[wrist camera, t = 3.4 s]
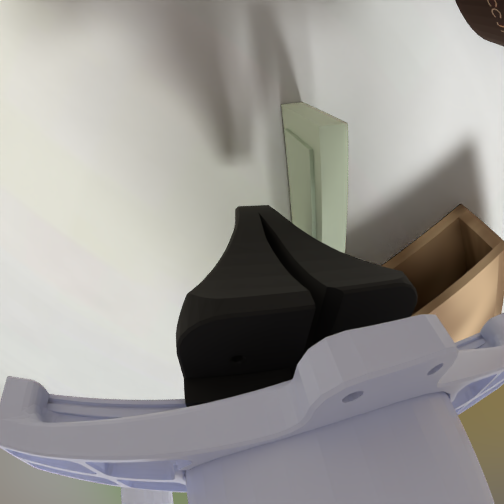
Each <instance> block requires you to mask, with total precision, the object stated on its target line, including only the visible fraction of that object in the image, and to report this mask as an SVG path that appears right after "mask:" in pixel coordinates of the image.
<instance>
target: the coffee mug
mask: <svg viewBox="0 0 504 504" xmlns="http://www.w3.org/2000/svg"><path fill="white" fill-rule="evenodd" d="M456 3H457V5H458V7H459V9H460V11H461V13H462V15H463V17H464V18H465V20H466V21H467V23H468V24H469V25H470V27H471V28H472V29H473V30H474V31H475V32H476V33H477V34H478V35H479V36H480V37H482V38H483V39H485V40H487V41H490V42H493V43H496V44H499V45H502V46H504V0H456Z"/></svg>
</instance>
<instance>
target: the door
mask: <svg viewBox="0 0 504 504" xmlns="http://www.w3.org/2000/svg"><path fill="white" fill-rule="evenodd" d="M281 108H282V116H283V126H284V135H285V145H286V155H287V166H288V177H289V189H290V202H291V215H292V223H293V224H294V225H295V226H297V227H298V228H300V229H301V230H303V231H304V232H306V233H307V234H309V235H310V236H312V237H313V238H315V239H317V240H318V241H320V242H322V243H324V244H326V245H328V246H330V247H332V248H334V249H336V250H338V251H340V252H343V253H345V243H346V226H347V203H348V123H346V122H344V121H342V120H340V119H338V118H336V117H334V116H332V115H329V114H327V113H325V112H323V111H321V110H319V109H317V108H314V107H312V106H310V105H308V104H305V103H303V102H299V103H290V104H281Z"/></svg>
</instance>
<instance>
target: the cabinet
mask: <svg viewBox="0 0 504 504" xmlns="http://www.w3.org/2000/svg"><path fill="white" fill-rule="evenodd" d="M382 266H383V267H387V268H391V269H395V270H399V271H403V273H404V274H405V275H406V276H407V278H408V279H409V280H410V282H411V283H412V285H413V286H414V287H415V289H416V291H417V294H418V297H417V304H416V306H415V309H414V311H413V313H412V315H411V317H412V316H416V315H420V314H432V315H436V316H437V317H438V319H439V320H440V322H441V323H442V325H443V326H444V328H445V329H446V331H447V332H448V334H449V335H450V337H451V338H452V340H453V341H454V343H455V342H458V341H460V340H463V339H465V338H468V337H470V336H473V335H475V334H477V333H480V331H481V329H482V328H483V326H484V325H485V323H486V322H487V321H488V320H489V319H491V318H492V317H494V316H497V315H499V314H501V311H502V305H503V298H504V241H503V240H502V239H501V238H500V237H499V236H498V235H497V234H496V233H495V232H494V231H492V230H491V229H490V228H489V227H488V226H487V225H486V224H485V223H483V222H482V221H481V220H480V219H479V218H478V217H476V216H475V215H474V214H473V213H472V212H470V211H469V210H468V209H467V208H466V207H464V206H463V205H462V204H460V205H459V206H457V207H456V208H455V209H454V210H453V211H452V212H450V213H449V214H448V215H447V216H446V217H444V218H443V219H442V220H441V221H439V222H438V223H437V224H436V225H434V226H433V227H432V228H431V229H429V230H428V231H427V232H426V233H424V234H423V235H422V236H421V237H419V238H418V239H417V240H415V241H414V242H413V243H412V244H410V245H409V246H408V247H406V248H405V249H404V250H402V251H401V252H400V253H398V254H397V255H396V256H394V257H393V258H392V259H390V260H389V261H387V262H386V263H385V264H383V265H382Z"/></svg>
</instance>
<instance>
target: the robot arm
mask: <svg viewBox="0 0 504 504" xmlns="http://www.w3.org/2000/svg"><path fill="white" fill-rule="evenodd" d="M417 297H418V294H417V291H416V289H415V287H414V286H413V285H412V283H411V282H410V280H409V279H408V278H407V276H406V275H405V274H404V273H403V271H399V270H395V269H391V268H387V267H383V266H379V265H375V264H372V263H369V262H366V261H363V260H360V259H357V258H355V257H352V256H350V255H347V254H345V253H343V252H340V251H338V250H336V249H334V248H332V247H330V246H328V245H326V244H324V243H322V242H320V241H318V240H317V239H315V238H313V237H312V236H310V235H309V234H307V233H306V232H304V231H303V230H301V229H300V228H298V227H297V226H295V225H294V224H293V223H291V222H290V221H289V220H287V219H286V218H285V217H283V216H282V215H281V214H279V213H278V212H277V211H276V210H274V209H273V208H272V207H270V206H269V205H263V206H240V207H237V208H236V209H235V227H234V231H233V234H232V236H231V239H230V242H229V244H228V246H227V248H226V250H225V252H224V254H223V255H222V257H221V258H220V260H219V261H218V263H217V264H216V266H215V267H214V268H213V270H212V271H211V272H210V273H209V274H208V275H207V276H206V278H205V279H204V280H203V281H202V282H201V283H200V284H199V285H197V286H196V287H195V288H194V289H193V290H192V291H190V292H189V293H188V294H187V295H186V298H185V300H184V303H183V306H182V309H181V312H180V316H179V320H178V324H177V331H176V347H177V356H178V359H179V363H180V366H181V370H182V373H183V377H184V391H185V399H172V400H120V399H98V398H84V397H72V396H62V395H54V394H49V393H48V392H47V390H46V389H45V388H44V387H43V386H42V385H41V384H40V383H38V382H36V381H34V380H31V379H25V378H18V377H12V376H8V377H7V380H6V383H5V387H4V390H3V394H2V398H1V402H0V448H2V449H3V450H5V451H6V452H8V453H10V454H11V455H13V456H14V457H16V458H18V459H20V460H21V461H23V462H25V463H27V464H29V465H30V466H32V467H34V468H36V469H39V470H44V471H47V472H51V473H55V474H59V475H63V476H67V477H71V478H76V479H81V480H85V481H90V482H95V483H100V484H106V485H112V486H118V487H125V488H133V489H142V490H152V491H167V492H187V495H188V504H495V503H494V500H493V498H492V495H491V492H490V489H489V486H488V484H487V481H486V479H485V476H484V473H483V471H482V468H481V466H480V464H479V461H478V459H477V456H476V454H475V452H474V449H473V447H472V445H471V443H470V441H469V438H468V436H467V434H466V432H465V430H464V428H463V425H462V423H461V421H460V419H459V417H458V415H459V414H460V413H462V412H464V411H465V410H467V409H468V408H470V407H471V406H473V405H474V404H476V403H477V402H479V401H480V400H482V399H483V398H485V397H486V396H487V395H489V394H490V393H492V392H493V391H495V390H496V389H498V388H499V387H500V386H501V385H502V384H503V383H504V313H501V314H499V315H497V316H494V317H492V318H491V319H489V320H488V321H487V322H486V323H485V325H484V326H483V328H482V329H481V331H480V333H477V334H475V335H473V336H470V337H468V338H465V339H463V340H460V341H458V342H455V343H454V341H453V340H452V338H451V337H450V335H449V334H448V332H447V331H446V329H445V328H444V326H443V325H442V323H441V322H440V320H439V319H438V317H437V316H436V315H432V314H420V315H416V316H412V317H411V315H412V313H413V311H414V309H415V306H416V304H417Z"/></svg>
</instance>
